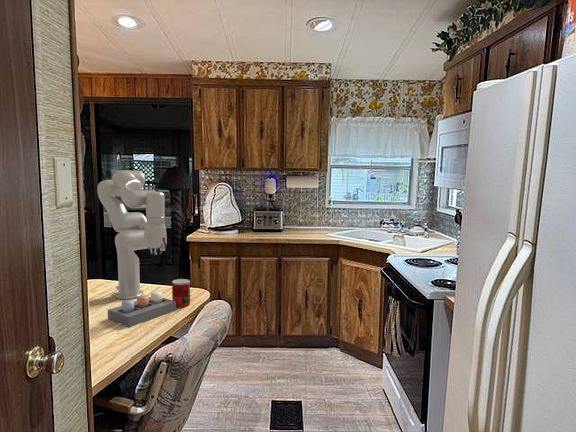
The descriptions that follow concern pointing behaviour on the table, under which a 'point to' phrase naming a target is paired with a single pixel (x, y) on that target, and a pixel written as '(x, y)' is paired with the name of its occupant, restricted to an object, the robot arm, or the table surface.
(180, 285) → the canned food
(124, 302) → the pale blue rounded dome
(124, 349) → the table surface
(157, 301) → the white dome button
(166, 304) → the grey slotted tray
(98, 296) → the table surface
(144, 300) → the pink rounded dome
